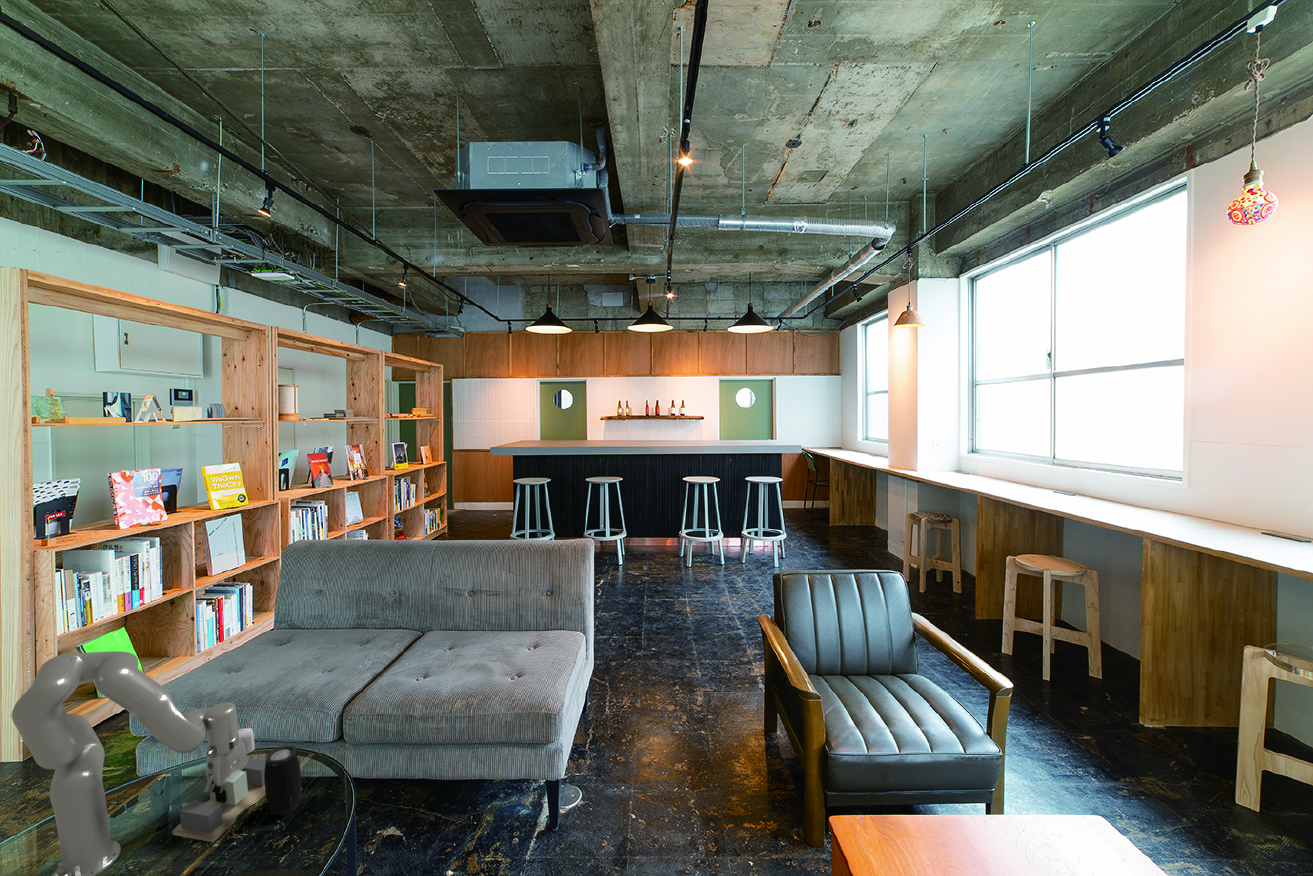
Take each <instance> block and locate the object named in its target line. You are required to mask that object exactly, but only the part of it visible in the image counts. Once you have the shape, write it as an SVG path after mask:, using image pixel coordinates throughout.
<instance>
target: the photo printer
mask: <svg viewBox="0 0 1313 876" xmlns="http://www.w3.org/2000/svg"><path fill="white" fill-rule="evenodd" d="M238 733H239V738H241V739H242V741H243V743H244V746H245V750H246V754H248V753H250V752H252V751H253V750H254V749H255V750H256V748H255V734H254V730H253V728H252V727H251V728H250V727H248V728H247V727H246V728H245V727H244V728H240V729H239V728H238Z"/></svg>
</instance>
